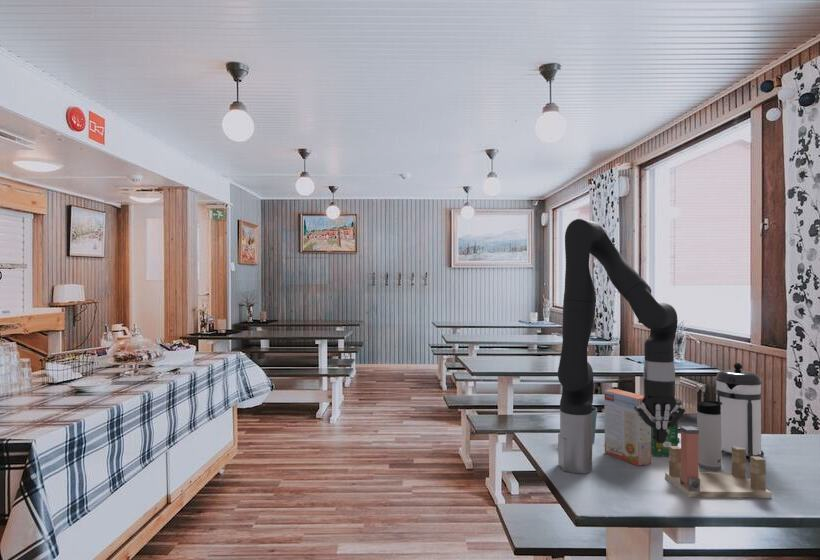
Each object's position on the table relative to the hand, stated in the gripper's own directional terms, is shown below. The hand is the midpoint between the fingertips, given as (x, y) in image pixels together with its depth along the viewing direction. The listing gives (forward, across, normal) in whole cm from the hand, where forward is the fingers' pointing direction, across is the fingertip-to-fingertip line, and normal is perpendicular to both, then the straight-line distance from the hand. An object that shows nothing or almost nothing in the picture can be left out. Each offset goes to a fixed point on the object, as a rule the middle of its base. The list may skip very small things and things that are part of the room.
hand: (659, 442), depth 131 cm
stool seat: (+14, +17, +4) cm, 22 cm away
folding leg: (+10, +8, 0) cm, 13 cm away
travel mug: (+14, +24, +19) cm, 33 cm away
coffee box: (+14, +15, +29) cm, 35 cm away
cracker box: (+14, +2, +26) cm, 29 cm away
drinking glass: (+14, -7, +43) cm, 46 cm away
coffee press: (+14, +40, +31) cm, 52 cm away
